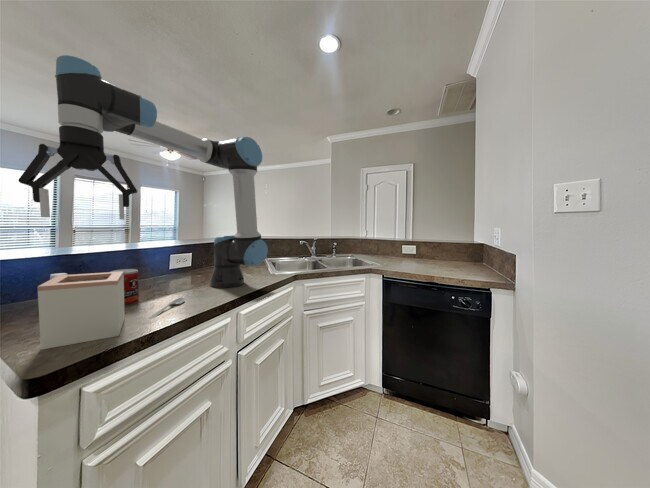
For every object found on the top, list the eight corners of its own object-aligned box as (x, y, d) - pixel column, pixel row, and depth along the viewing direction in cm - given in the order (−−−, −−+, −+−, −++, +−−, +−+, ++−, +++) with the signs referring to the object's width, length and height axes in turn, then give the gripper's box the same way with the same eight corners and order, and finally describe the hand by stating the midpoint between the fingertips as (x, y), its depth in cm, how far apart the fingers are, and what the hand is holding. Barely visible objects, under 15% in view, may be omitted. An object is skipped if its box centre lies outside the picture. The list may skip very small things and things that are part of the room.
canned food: (123, 305, 81) (122, 273, 80) (104, 303, 82) (103, 271, 81) (144, 299, 88) (143, 269, 87) (126, 297, 90) (126, 268, 89)
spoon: (187, 301, 88) (187, 297, 88) (149, 324, 68) (149, 318, 68) (176, 301, 88) (176, 297, 88) (134, 324, 68) (134, 318, 67)
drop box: (124, 318, 70) (123, 271, 69) (118, 335, 60) (117, 280, 59) (60, 328, 63) (58, 275, 62) (40, 349, 52) (37, 286, 51)
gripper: (146, 145, 68) (149, 220, 70) (8, 121, 54) (15, 216, 55) (145, 138, 62) (148, 220, 63) (-11, 108, 47) (-3, 215, 49)
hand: (86, 218), depth 59 cm, fingers open, 13 cm apart
